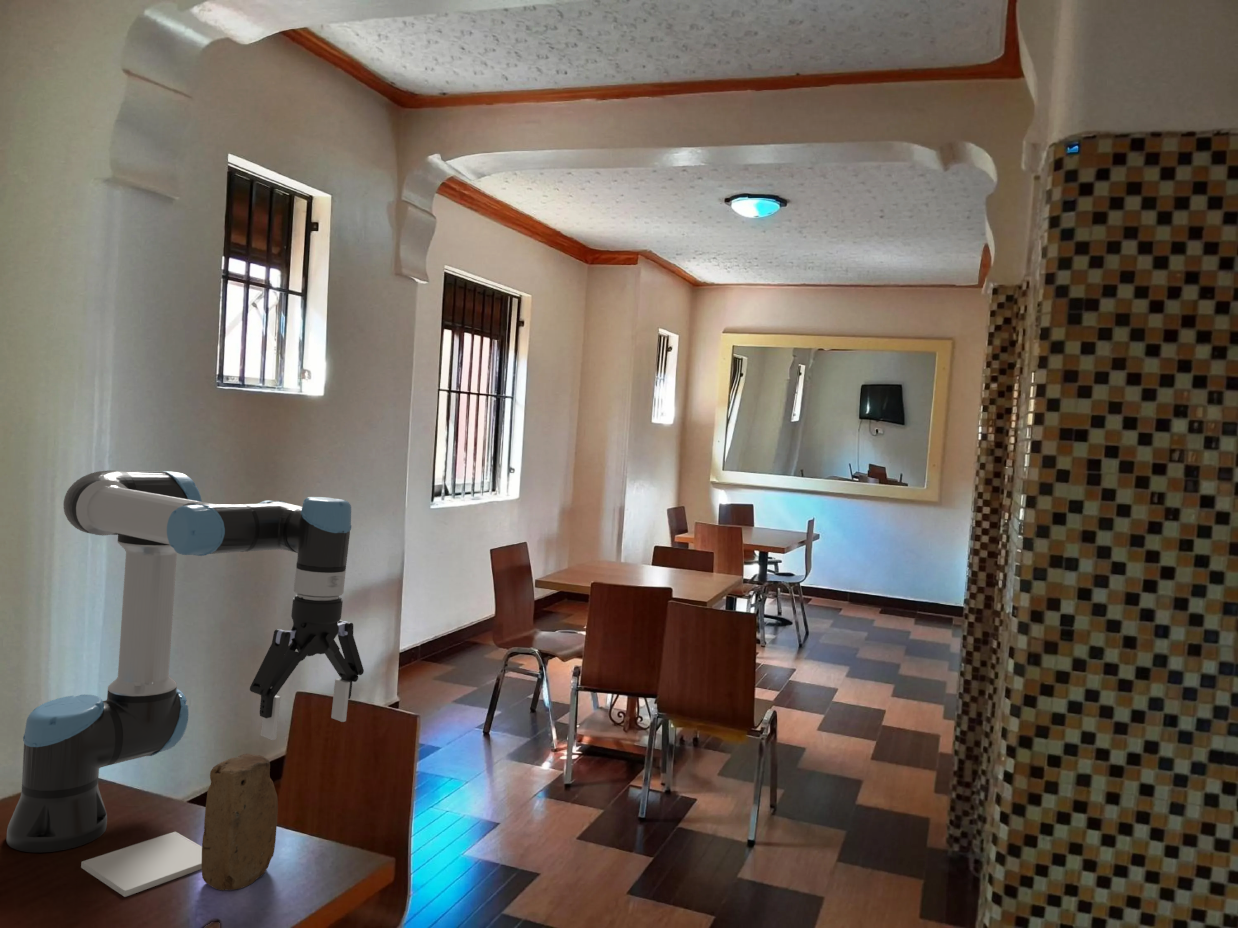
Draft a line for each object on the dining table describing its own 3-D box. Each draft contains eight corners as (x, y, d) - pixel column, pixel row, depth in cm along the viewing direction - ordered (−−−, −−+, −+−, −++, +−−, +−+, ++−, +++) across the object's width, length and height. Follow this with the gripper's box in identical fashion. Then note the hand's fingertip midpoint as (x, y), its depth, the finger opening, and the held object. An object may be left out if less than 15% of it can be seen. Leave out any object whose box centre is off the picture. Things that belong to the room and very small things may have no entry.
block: (225, 898, 145) (234, 773, 144) (194, 884, 148) (202, 762, 147) (280, 872, 154) (288, 755, 154) (249, 859, 158) (257, 745, 157)
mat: (81, 867, 151) (81, 861, 151) (174, 836, 164) (175, 831, 164) (124, 896, 143) (125, 890, 143) (219, 862, 156) (219, 856, 156)
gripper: (266, 607, 132) (251, 752, 132) (393, 593, 153) (380, 718, 153) (234, 597, 135) (219, 738, 136) (362, 585, 157) (349, 707, 157)
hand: (304, 728), depth 145 cm, fingers open, 13 cm apart
